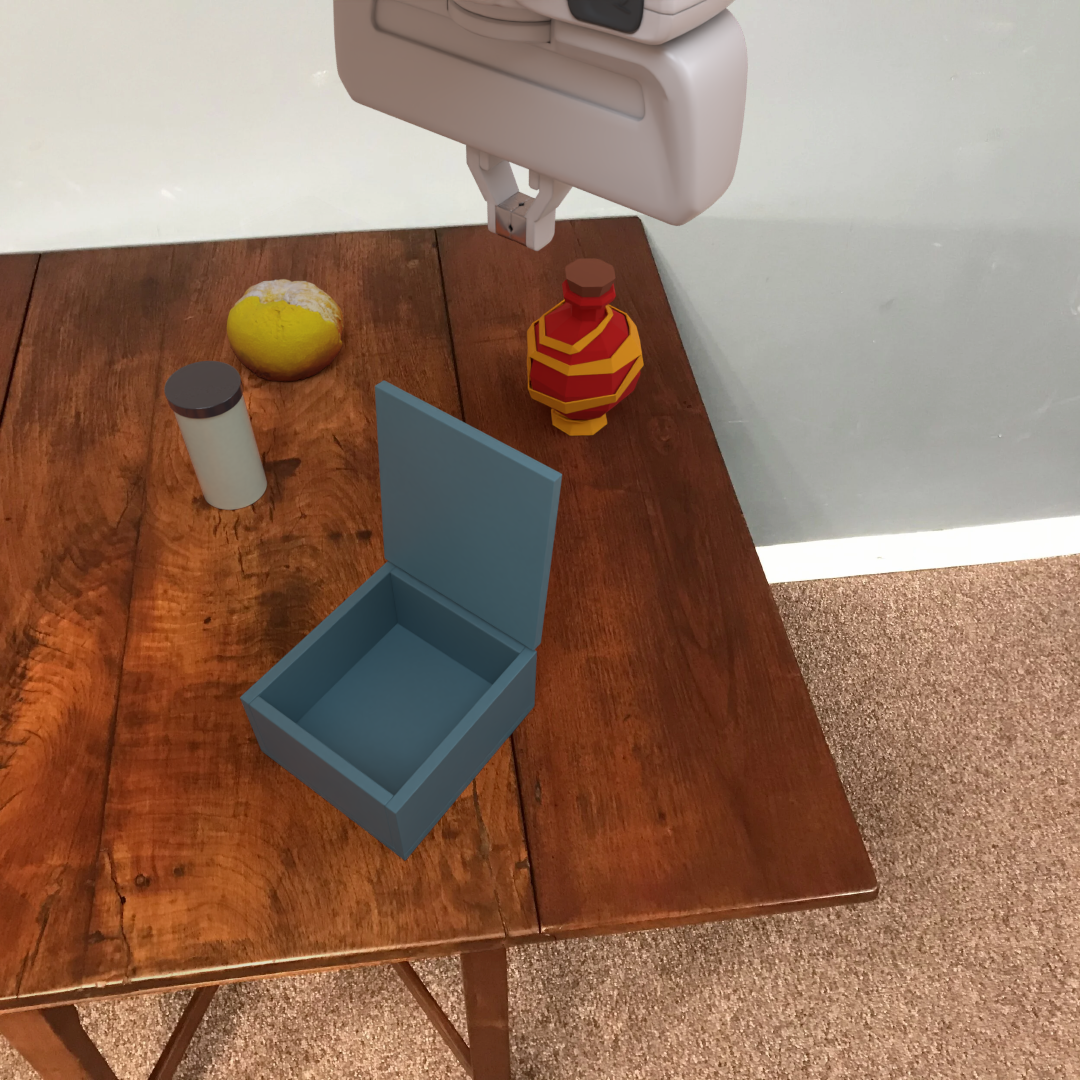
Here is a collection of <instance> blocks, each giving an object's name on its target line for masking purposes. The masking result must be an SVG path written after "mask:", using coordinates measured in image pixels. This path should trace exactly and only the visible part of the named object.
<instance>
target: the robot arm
mask: <svg viewBox="0 0 1080 1080" xmlns="http://www.w3.org/2000/svg"><path fill="white" fill-rule="evenodd" d="M735 1H736V0H332V10H333V11H332V12H333V37H334V51H335V52H334V53H335V64H336V70H337V75H338V78H339V79H340V81H341V83H342V85H343V87H344V89H345V90H346V92H347V94H348V95H349V97H350V99H351V100H352V101H353V102H355V103H357V104H359V105H361V106H363V107H367V108H370V109H372V110H375V111H377V112H380V113H383V114H385V115H387V116H390V117H393V118H395V119H398V120H400V121H403V122H405V123H408V124H411V125H413V126H416V127H419V128H421V129H423V130H426V131H429V132H431V133H434V134H437V135H438V136H441V137H445V138H446V139H449V140H452V141H455V142H457V143H459V144H463V145H464V146H465V155H466V156H465V157H466V159H465V161H466V165H467V167H468V170H469V171H470V173H471V175H472V178H473V179H474V182H475V183H476V185H477V187H478V189H479V191H480V193H481V196H482V198H483V200H484V201H485V202H486V211H487V213H486V214H487V230H488V231H489V232H491V233H493V234H496V235H497V236H500V237H502V238H504V239H507V240H509V241H510V242H511V241H512V242H515V243H517V244H519V245H521V246H524V247H526V248H528V249H529V250H533V251H535V252H539V251H541V250H542V249H543V248H545V247H546V246H547V245H548V244H550V243H551V242H552V240H553V238H554V236H555V231H556V230H555V229H556V213H557V212H556V211H557V209H558V208H559V207H560V205H561V203H562V202H563V201H564V199H565V198H566V197H567V195H568V194H569V193H570V191H571V190H572V189H573V188H575V189H578V190H580V191H582V192H585V193H588V194H590V195H593V196H596V197H599V198H601V199H604V200H606V201H609V202H611V203H614V204H616V205H619V206H621V207H625V208H627V209H629V210H632V211H635V212H637V213H639V214H643V215H645V216H647V217H650V218H653V219H656V220H658V221H660V222H663V223H665V224H668V225H671V226H675V227H681V226H684V225H686V224H687V223H689V222H690V221H692V220H694V219H696V218H697V217H699V216H700V215H702V214H703V213H704V212H706V211H707V210H708V209H709V208H711V207H712V206H713V205H714V204H715V203H716V202H717V201H719V199H721V197H722V196H723V195H724V194H725V193H726V192H727V190H728V189H729V188H730V187H731V184H732V183H733V179H734V177H735V174H736V169H737V164H738V160H739V156H740V155H739V154H740V149H741V142H742V135H743V127H744V120H745V110H746V100H747V87H748V86H747V85H748V84H747V83H748V69H749V67H748V61H749V59H748V58H749V57H748V48H747V42H746V39H745V35H744V32H743V29H742V27H741V25H740V23H739V21H738V19H737V18H736V17H735V15H734V14H733V13H732V12H731V10H729V9H728V7H729V6H730V5H732V4H733V3H734V2H735ZM510 163H511V164H514V165H516V166H518V167H521V168H524V169H526V170H528V186H529V189H532V190H534V191H538V193H537V194H536V196H535V197H533V196H530V195H528V194H526V193H524V192H521V191H520V189H519V186H518V183H517V180H516V177H515V174H514V172H513V169H512V166H511V164H510Z"/></svg>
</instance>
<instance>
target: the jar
mask: <svg viewBox="0 0 1080 1080" xmlns="http://www.w3.org/2000/svg"><path fill="white" fill-rule="evenodd" d="M243 384H244V383H243V380H242V377H241V375H240V372H239V371H238V370H237V369H236V368H235V367H234V366H232V365H231V364H228V363H227V362H222V361H218V360H201V361H196V362H192V363H190V364H189V363H188V364H187V365H184V366H182V367H180V368H179V369H177V370H175V371H174V372H173V373H172V374H171V375H170V376H169V377H168V378H167V380H166V382H165V383H164V387H163V392H164V395H165V398H166V401H167V404H168V407H169V408H170V409H171V410H172V412H173V414H174V417H175V420H176V423H177V425H178V428H179V432H180V434H181V438H182V440H183V443H184V446H185V447H186V451H187V454H188V457H189V459H190V462H191V465H192V468H193V471H194V473H195V476H196V479H197V482H198V485H199V487H200V490H201V493H202V495H203V498H204V501H206V503H208V504H209V505H210V506H211V507H214V508H216V509H219V510H227V511H234V510H240V509H244V508H246V507H248V506H251V505H253V504H254V503H256V502H257V501H258V500H259V499H261V498H262V496H264V494H265V492H266V490H267V486H268V480H267V475H266V472H265V468H264V464H263V461H262V457H261V454H260V450H259V447H258V443H257V440H256V436H255V432H254V428H253V425H252V421H251V418H250V413H249V411H248V406H247V403H246V399H245V396H244V385H243Z"/></svg>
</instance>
